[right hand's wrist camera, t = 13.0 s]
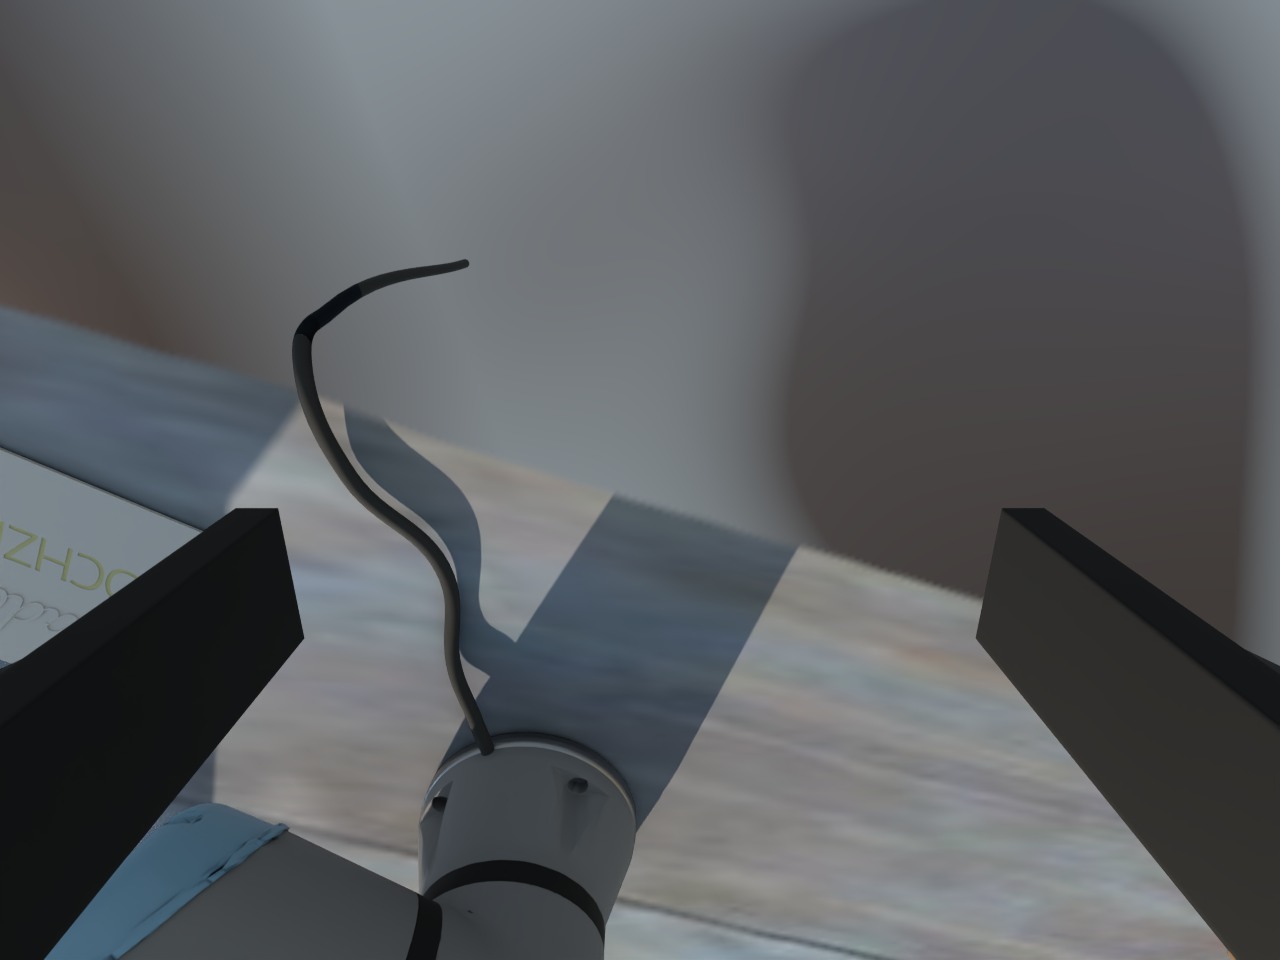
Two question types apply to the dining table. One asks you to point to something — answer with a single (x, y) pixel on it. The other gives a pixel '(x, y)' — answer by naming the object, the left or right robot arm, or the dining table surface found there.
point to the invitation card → (68, 550)
